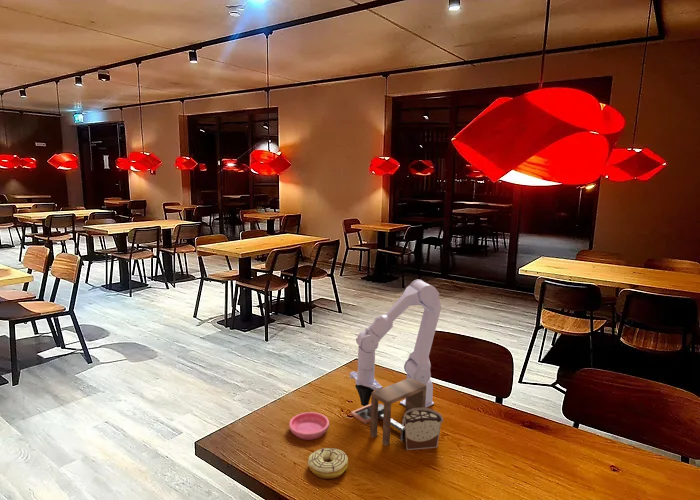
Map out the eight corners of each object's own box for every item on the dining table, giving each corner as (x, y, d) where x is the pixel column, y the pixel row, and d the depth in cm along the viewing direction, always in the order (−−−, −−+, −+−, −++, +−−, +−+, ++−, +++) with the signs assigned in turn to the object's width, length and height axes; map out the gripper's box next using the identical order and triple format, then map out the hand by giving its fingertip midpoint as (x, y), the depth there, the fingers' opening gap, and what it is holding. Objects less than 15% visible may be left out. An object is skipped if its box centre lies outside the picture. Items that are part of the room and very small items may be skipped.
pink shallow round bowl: (295, 447, 130) (296, 437, 129) (284, 425, 141) (284, 416, 141) (335, 437, 135) (335, 428, 134) (320, 417, 146) (321, 408, 146)
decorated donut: (320, 452, 127) (320, 440, 127) (354, 463, 123) (354, 451, 122) (301, 473, 118) (301, 460, 118) (336, 486, 114) (336, 472, 113)
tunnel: (408, 417, 147) (410, 377, 145) (424, 427, 142) (426, 385, 139) (370, 435, 136) (371, 392, 134) (385, 446, 131) (387, 401, 129)
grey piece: (382, 409, 150) (382, 399, 149) (420, 432, 137) (421, 421, 136) (364, 417, 145) (365, 407, 144) (402, 441, 132) (402, 430, 131)
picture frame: (374, 404, 155) (374, 402, 155) (389, 413, 149) (389, 411, 149) (350, 414, 148) (350, 411, 148) (365, 424, 142) (365, 421, 142)
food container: (434, 435, 137) (436, 405, 136) (441, 447, 131) (443, 415, 130) (396, 438, 135) (397, 407, 133) (401, 450, 129) (403, 418, 127)
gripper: (343, 362, 151) (342, 399, 153) (372, 377, 140) (370, 417, 142) (358, 357, 156) (357, 393, 158) (387, 372, 145) (386, 410, 147)
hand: (364, 404), depth 150 cm, fingers closed
